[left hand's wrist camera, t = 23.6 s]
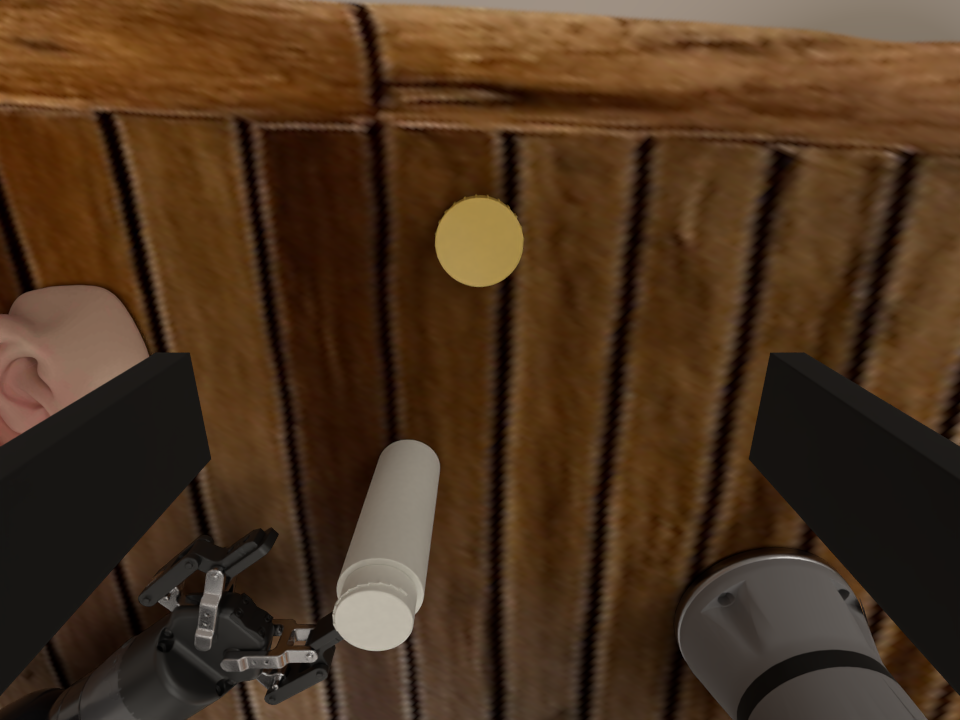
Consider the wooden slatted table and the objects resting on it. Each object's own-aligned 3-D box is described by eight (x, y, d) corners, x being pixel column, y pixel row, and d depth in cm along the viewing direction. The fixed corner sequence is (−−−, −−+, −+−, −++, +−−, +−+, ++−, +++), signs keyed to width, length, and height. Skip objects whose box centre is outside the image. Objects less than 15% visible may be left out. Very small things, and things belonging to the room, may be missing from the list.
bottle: (431, 433, 42) (405, 577, 27) (446, 486, 43) (430, 647, 29) (370, 446, 42) (314, 595, 28) (388, 498, 44) (343, 663, 30)
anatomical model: (39, 265, 33) (164, 412, 36) (83, 254, 37) (193, 389, 40) (-110, 364, 35) (22, 493, 39) (-53, 344, 39) (62, 464, 42)
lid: (419, 235, 36) (415, 239, 34) (482, 175, 35) (483, 176, 33) (476, 297, 38) (475, 305, 36) (539, 242, 37) (542, 247, 34)
